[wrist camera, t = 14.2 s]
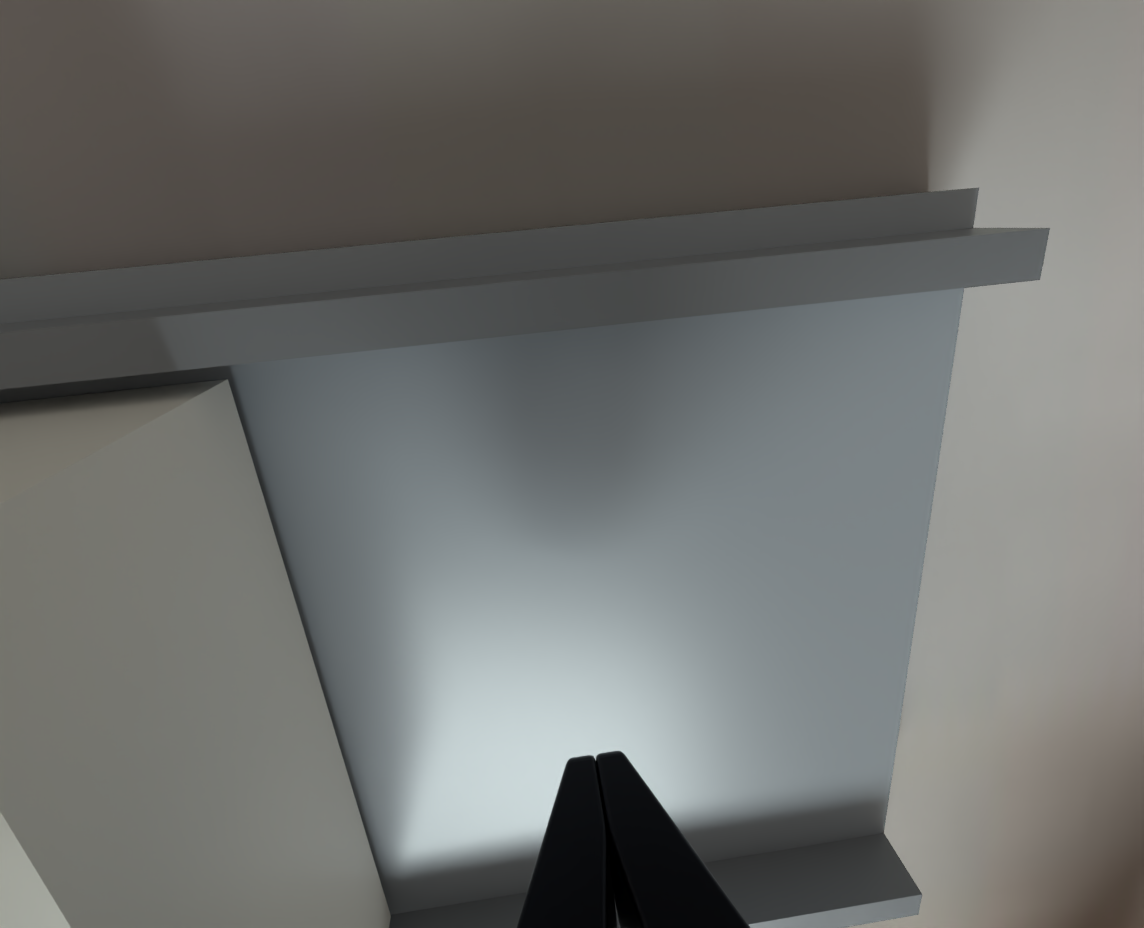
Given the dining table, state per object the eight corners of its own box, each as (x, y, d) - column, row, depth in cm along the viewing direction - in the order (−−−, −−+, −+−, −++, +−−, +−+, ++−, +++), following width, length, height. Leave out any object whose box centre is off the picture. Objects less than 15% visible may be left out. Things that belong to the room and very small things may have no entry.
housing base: (13, 963, 15) (-105, 1141, 12) (-431, 319, 9) (-863, 363, 6) (853, 825, 17) (928, 954, 14) (929, 192, 11) (1092, 178, 8)
